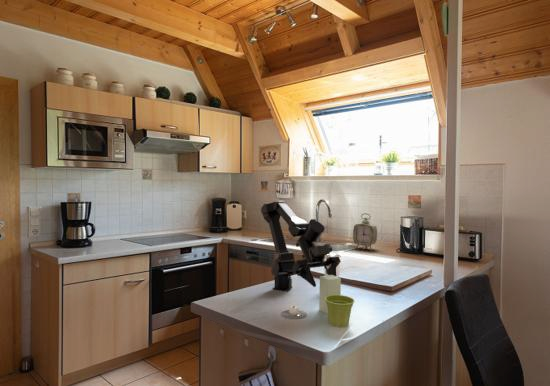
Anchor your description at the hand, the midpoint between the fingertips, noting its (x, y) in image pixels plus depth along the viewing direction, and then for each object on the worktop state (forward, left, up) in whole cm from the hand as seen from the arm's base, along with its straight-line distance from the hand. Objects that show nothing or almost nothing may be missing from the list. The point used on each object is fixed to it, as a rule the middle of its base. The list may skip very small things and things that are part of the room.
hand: (325, 284), depth 135 cm
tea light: (-7, -11, -9) cm, 16 cm away
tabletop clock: (-18, +133, -10) cm, 135 cm away
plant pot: (+9, -11, -10) cm, 17 cm away
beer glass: (-6, +26, -10) cm, 29 cm away
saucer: (-7, -11, -9) cm, 16 cm away
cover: (+2, -1, -9) cm, 9 cm away
